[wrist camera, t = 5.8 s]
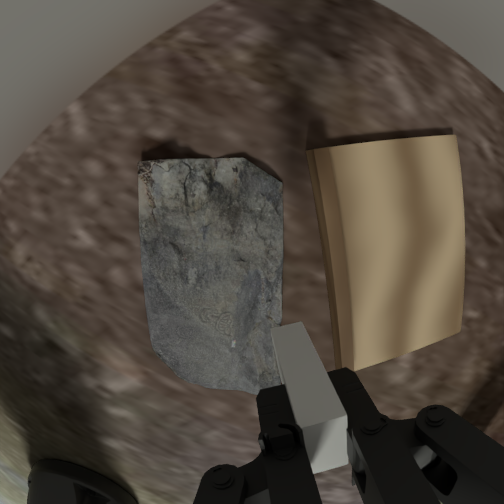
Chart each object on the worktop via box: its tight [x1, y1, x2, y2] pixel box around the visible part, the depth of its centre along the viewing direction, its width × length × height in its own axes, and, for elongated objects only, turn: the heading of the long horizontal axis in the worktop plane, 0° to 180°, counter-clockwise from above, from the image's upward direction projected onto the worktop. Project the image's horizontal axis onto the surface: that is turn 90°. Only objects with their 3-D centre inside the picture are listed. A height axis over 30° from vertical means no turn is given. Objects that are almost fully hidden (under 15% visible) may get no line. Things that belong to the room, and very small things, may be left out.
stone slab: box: [138, 158, 283, 395], centre depth 22 cm, size 18×2×10 cm
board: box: [306, 135, 465, 372], centre depth 23 cm, size 13×18×2 cm
